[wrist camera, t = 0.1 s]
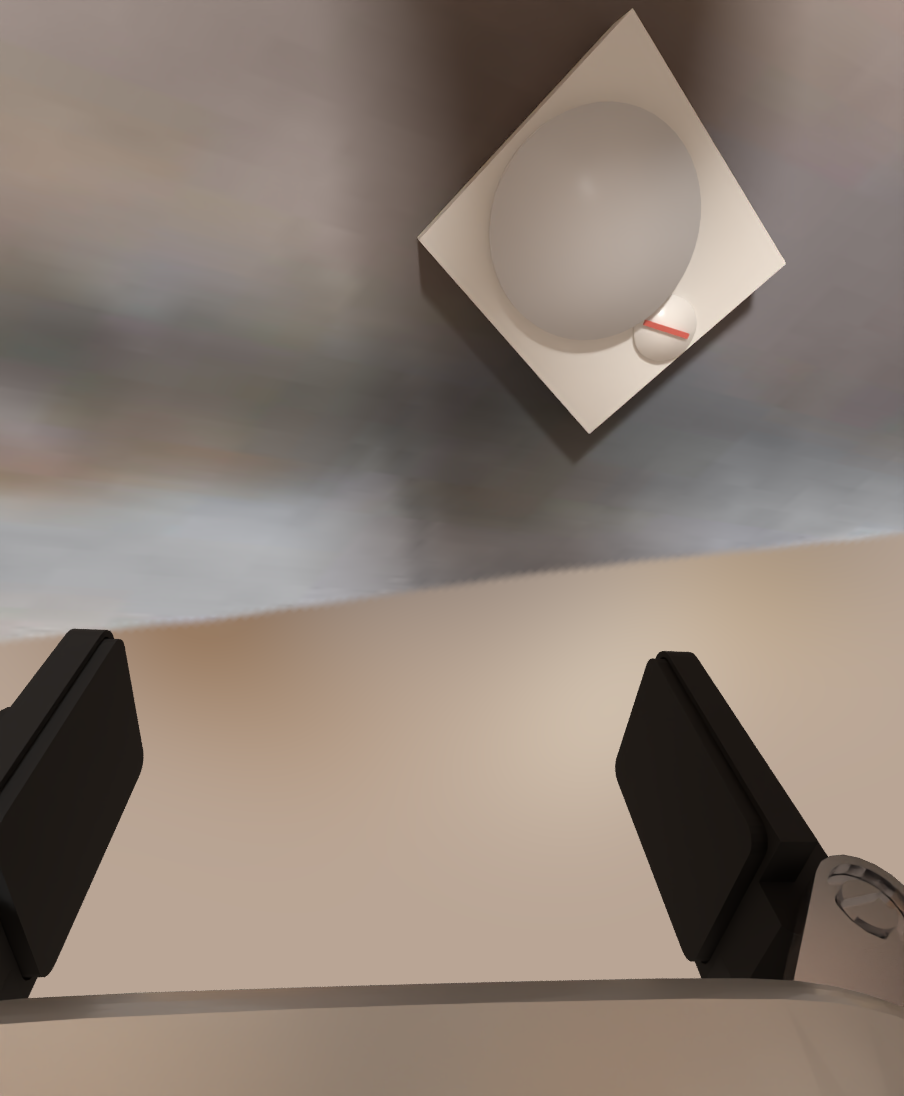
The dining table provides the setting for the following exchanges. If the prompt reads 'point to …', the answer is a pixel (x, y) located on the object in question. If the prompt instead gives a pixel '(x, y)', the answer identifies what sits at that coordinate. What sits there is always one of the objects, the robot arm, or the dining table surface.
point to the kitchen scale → (605, 229)
